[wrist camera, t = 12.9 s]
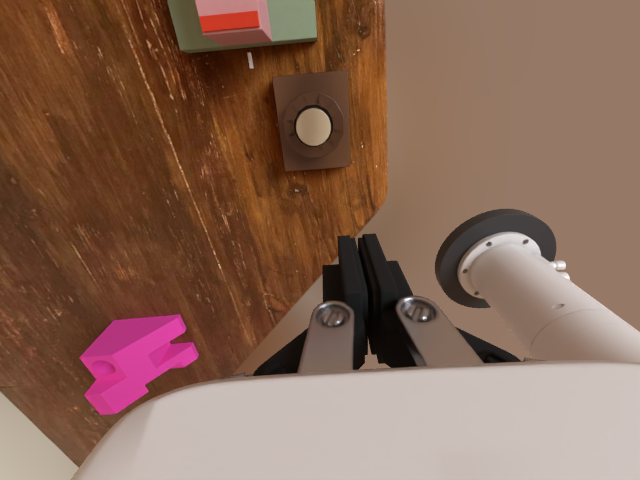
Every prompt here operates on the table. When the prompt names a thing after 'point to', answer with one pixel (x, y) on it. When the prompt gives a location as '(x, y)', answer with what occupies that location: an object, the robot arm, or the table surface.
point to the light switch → (322, 94)
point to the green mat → (286, 28)
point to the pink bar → (234, 21)
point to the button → (313, 126)
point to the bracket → (133, 359)
